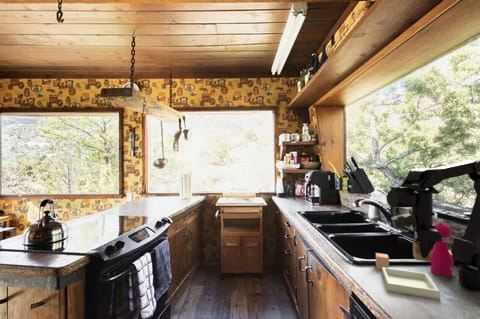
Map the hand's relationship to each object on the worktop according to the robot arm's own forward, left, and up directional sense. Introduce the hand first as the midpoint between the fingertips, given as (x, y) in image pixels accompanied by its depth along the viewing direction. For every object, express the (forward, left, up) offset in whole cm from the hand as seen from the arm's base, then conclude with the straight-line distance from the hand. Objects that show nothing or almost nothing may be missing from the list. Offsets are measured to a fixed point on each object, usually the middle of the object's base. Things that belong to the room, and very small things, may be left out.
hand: (422, 255), depth 82 cm
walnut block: (0, 0, -1) cm, 1 cm away
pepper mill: (-10, -18, -11) cm, 24 cm away
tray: (+4, -1, -11) cm, 12 cm away
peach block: (+10, -14, -11) cm, 21 cm away
